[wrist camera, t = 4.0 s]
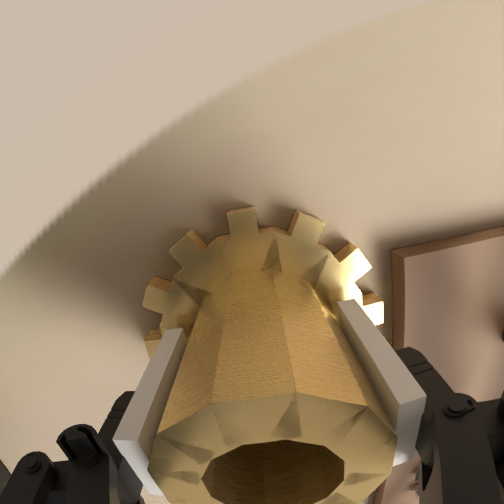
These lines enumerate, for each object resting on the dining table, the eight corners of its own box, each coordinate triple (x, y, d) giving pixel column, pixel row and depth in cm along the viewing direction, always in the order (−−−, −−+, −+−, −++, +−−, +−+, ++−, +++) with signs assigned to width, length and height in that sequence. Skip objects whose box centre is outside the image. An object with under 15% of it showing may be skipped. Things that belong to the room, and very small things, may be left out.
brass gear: (184, 418, 16) (153, 550, 8) (123, 232, 14) (-14, 308, 5) (374, 388, 16) (435, 512, 7) (364, 188, 13) (508, 218, 5)
